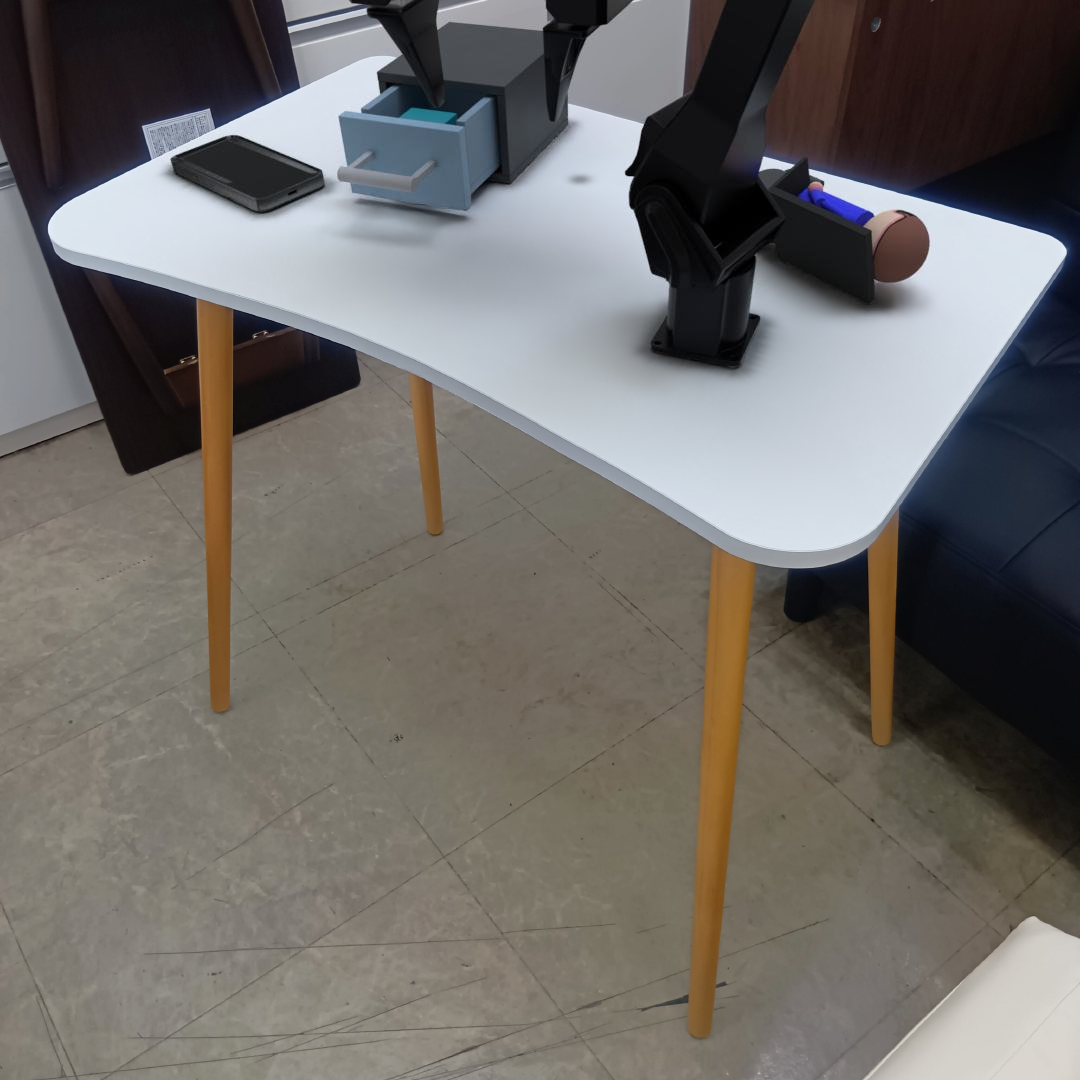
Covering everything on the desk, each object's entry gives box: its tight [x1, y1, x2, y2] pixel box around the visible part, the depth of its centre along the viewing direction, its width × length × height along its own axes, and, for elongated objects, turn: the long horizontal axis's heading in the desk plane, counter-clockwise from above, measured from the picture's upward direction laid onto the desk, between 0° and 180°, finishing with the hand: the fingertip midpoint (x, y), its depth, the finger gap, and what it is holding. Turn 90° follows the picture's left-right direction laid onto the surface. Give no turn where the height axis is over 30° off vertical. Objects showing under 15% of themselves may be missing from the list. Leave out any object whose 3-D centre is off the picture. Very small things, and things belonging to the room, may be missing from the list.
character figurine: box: [758, 156, 931, 306], centre depth 73 cm, size 8×7×15 cm
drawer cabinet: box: [376, 21, 569, 185], centre depth 93 cm, size 15×13×9 cm
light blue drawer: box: [336, 83, 501, 212], centre depth 86 cm, size 18×11×7 cm, turn 157°
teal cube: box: [399, 108, 457, 126], centre depth 85 cm, size 4×4×4 cm
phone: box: [170, 134, 326, 213], centre depth 91 cm, size 8×1×15 cm
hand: (495, 112), depth 70 cm, fingers open, 9 cm apart
